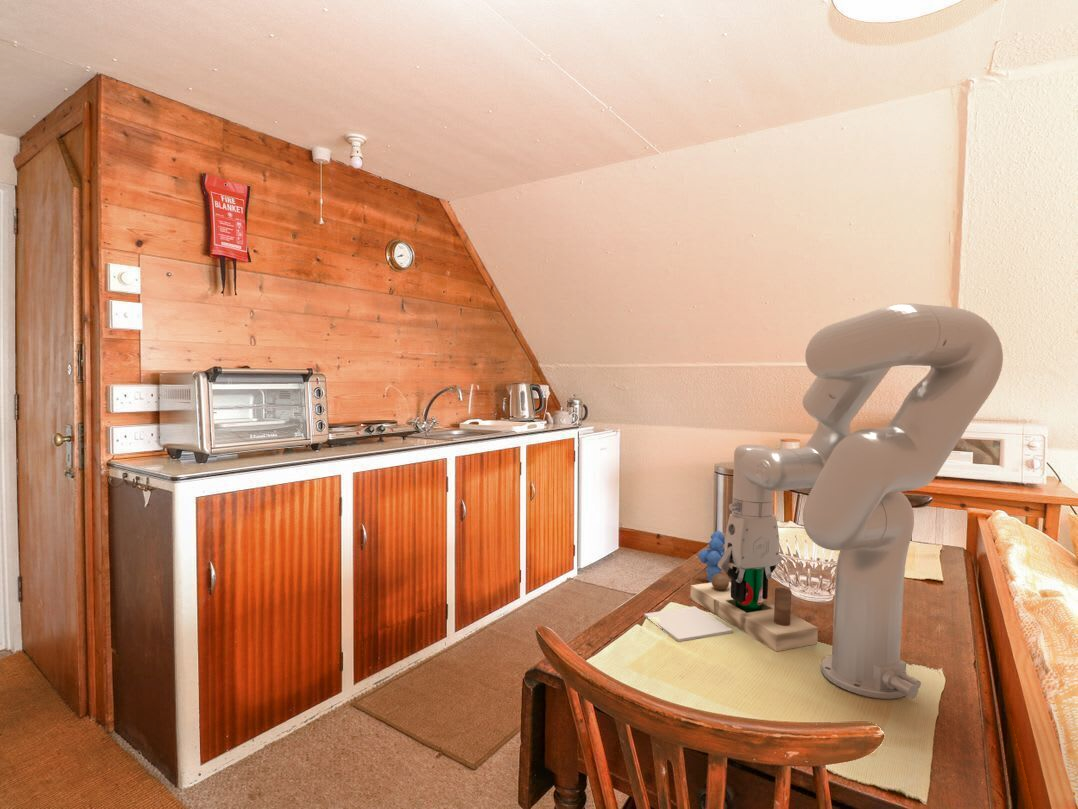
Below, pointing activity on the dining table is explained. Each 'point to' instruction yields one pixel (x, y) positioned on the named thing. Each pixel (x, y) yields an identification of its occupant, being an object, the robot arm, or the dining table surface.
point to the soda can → (752, 590)
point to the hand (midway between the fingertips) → (749, 597)
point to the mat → (689, 623)
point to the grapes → (713, 554)
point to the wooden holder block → (757, 615)
